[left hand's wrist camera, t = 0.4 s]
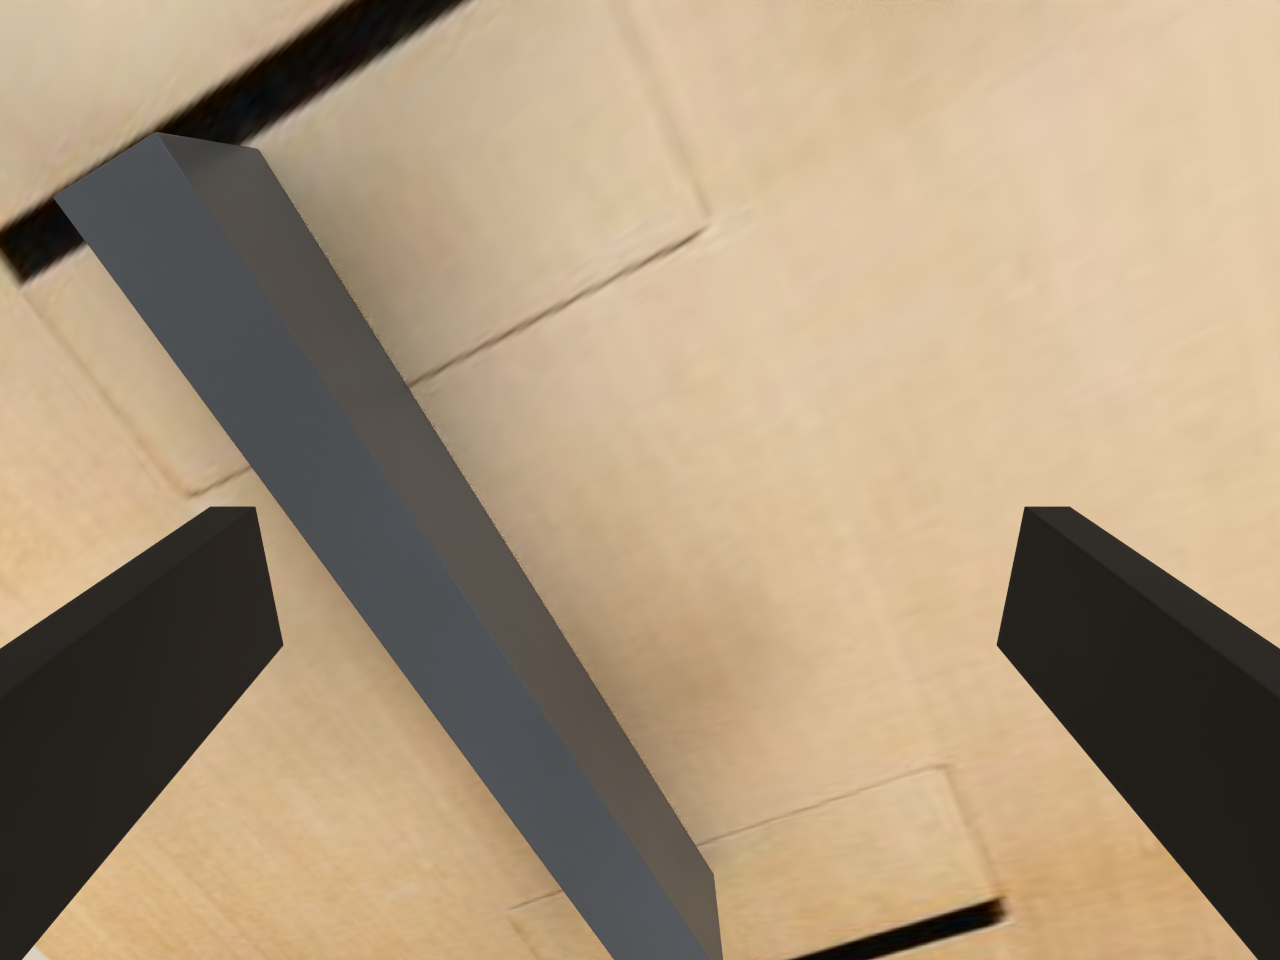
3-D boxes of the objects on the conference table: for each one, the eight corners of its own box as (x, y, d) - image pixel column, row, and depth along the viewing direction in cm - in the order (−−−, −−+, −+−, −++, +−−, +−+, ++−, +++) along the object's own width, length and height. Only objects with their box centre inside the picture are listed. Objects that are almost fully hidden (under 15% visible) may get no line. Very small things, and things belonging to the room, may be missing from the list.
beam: (173, 199, 34) (51, 196, 27) (258, 148, 33) (155, 131, 26) (649, 897, 50) (651, 1010, 43) (713, 874, 50) (726, 985, 42)
